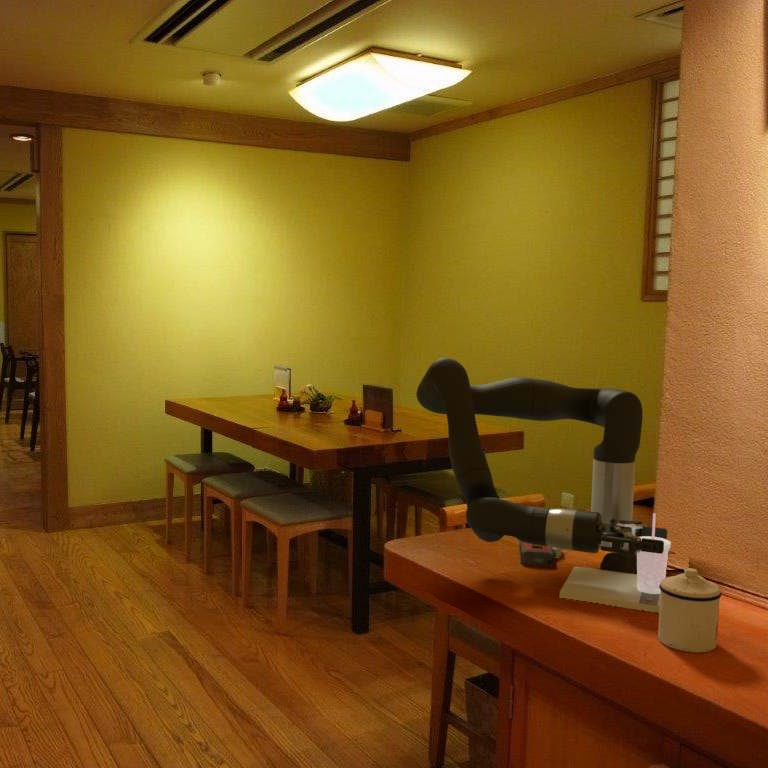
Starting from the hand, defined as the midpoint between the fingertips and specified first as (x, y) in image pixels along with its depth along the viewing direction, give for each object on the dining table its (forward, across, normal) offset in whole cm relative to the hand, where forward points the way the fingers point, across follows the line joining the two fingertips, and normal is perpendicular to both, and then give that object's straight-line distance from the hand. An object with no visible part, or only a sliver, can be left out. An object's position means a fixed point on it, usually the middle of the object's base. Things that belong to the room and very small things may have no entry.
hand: (665, 541), depth 149 cm
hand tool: (-4, +14, +11) cm, 18 cm away
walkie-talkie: (-26, +18, +11) cm, 33 cm away
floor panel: (-5, 0, +10) cm, 12 cm away
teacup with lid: (+4, -18, +11) cm, 21 cm away
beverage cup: (-2, 0, +9) cm, 10 cm away
